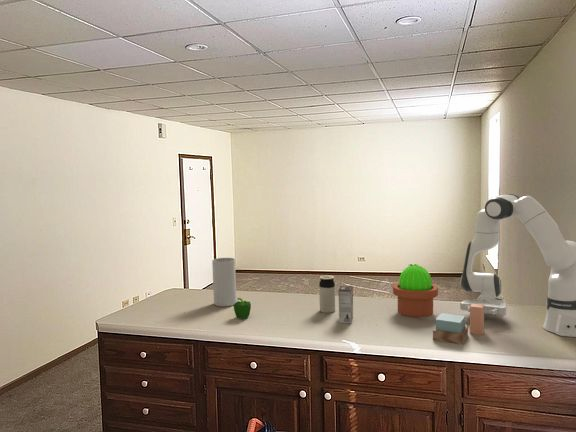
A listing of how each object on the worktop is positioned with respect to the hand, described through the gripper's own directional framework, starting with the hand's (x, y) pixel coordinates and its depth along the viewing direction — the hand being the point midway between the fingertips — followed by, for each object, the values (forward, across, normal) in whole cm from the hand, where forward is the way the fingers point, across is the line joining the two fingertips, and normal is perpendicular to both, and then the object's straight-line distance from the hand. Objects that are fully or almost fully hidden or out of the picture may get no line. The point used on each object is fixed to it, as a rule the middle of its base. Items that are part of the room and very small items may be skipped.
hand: (480, 311), depth 216 cm
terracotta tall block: (+10, 0, +6) cm, 12 cm away
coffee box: (+20, -58, +7) cm, 62 cm away
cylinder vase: (+24, -130, +6) cm, 132 cm away
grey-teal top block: (+22, -9, +2) cm, 24 cm away
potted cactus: (-7, -32, +7) cm, 33 cm away
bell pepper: (+39, -106, +6) cm, 113 cm away
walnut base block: (+22, -9, +7) cm, 25 cm away
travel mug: (+10, -73, +7) cm, 74 cm away
